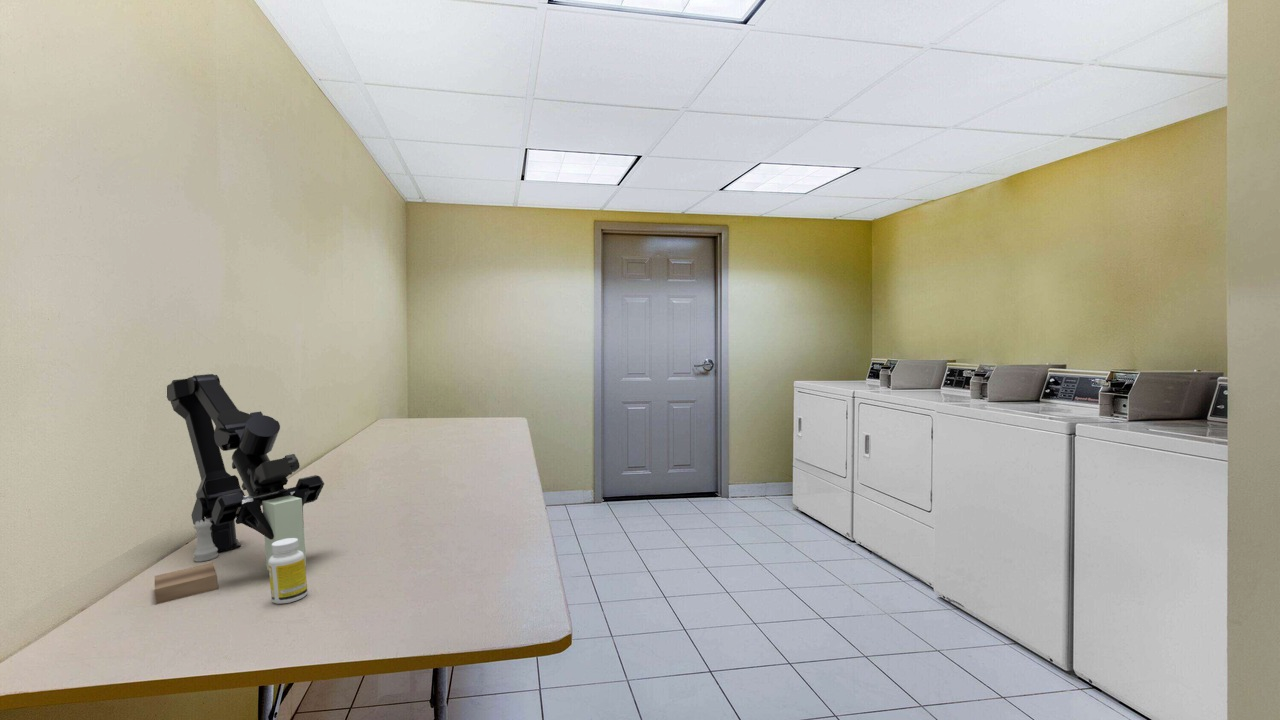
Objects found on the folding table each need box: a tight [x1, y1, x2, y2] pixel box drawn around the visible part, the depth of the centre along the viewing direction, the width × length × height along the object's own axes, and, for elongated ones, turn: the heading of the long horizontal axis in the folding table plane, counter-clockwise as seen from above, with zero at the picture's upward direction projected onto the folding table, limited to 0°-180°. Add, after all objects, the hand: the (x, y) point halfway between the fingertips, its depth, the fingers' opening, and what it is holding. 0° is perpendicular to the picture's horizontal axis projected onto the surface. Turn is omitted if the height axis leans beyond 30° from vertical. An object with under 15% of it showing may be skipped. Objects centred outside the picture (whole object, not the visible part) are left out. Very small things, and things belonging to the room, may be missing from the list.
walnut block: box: [154, 562, 219, 605], centre depth 118 cm, size 9×9×3 cm
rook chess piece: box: [192, 519, 220, 563], centre depth 135 cm, size 4×4×8 cm
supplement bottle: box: [268, 538, 308, 605], centre depth 110 cm, size 5×5×10 cm
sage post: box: [261, 495, 307, 571], centre depth 122 cm, size 5×5×13 cm
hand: (287, 533), depth 121 cm, fingers closed on sage post, 5 cm apart
